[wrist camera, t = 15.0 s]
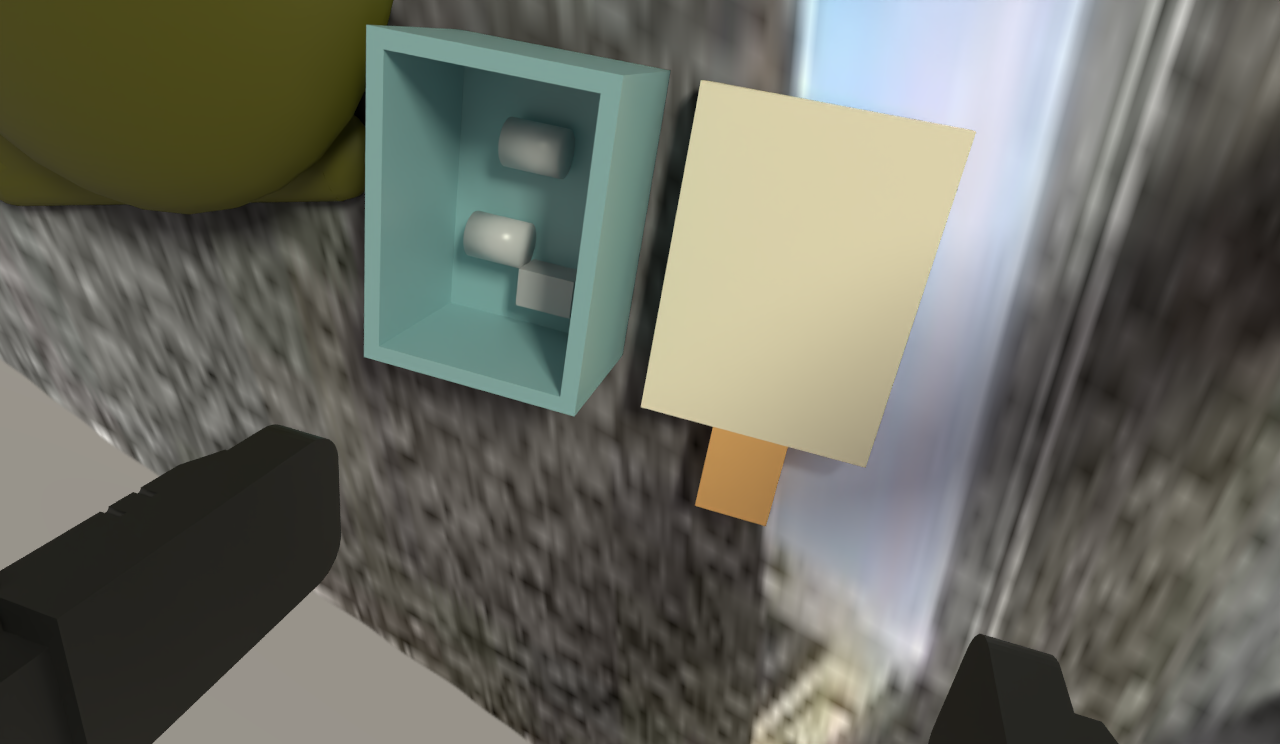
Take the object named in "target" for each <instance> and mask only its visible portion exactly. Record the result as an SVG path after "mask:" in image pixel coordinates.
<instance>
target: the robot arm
mask: <svg viewBox="0 0 1280 744" xmlns="http://www.w3.org/2000/svg"><path fill="white" fill-rule="evenodd" d="M340 540H341V523H340V494H339V465H338V452H337V449H336V447H335V445H334V443H333V442H332V441H330V440H329V439H326V438H322V437H319V436H316V435H312V434H309V433H305V432H302V431H299V430H295V429H292V428H288V427H285V426H282V425H270V426H267V427H265V428H263V429H262V430H260V431H258V432H257V433H255V434H253V435H252V436H250V437H249V438H247V439H245V440H244V441H242V442H240V443H239V444H237V445H236V446H234V447H232V448H231V449H229V450H223V451H220V452H217V453H214V454H211V455H208V456H205V457H202V458H199V459H196V460H193V461H190V462H186V463H183V464H180V465H178V466H176V467H175V468H173V469H171V470H170V471H168V472H166V473H165V474H163V475H161V476H160V477H158V478H156V479H155V480H153V481H152V482H149V483H148V484H146V485H144V486H143V487H141V490H140V492H139V493H138V494H137V493H134V492H133V493H131V494H129V495H128V496H126V497H124V498H122V499H121V500H119V501H117V502H116V503H114V504H112V505H111V506H109V509H108V511H107V512H106V513H103V512H99V513H97V514H95V515H94V516H92V517H90V518H89V519H87V520H85V521H84V522H82V523H80V524H79V525H77V526H75V527H74V528H72V529H70V530H68V531H67V532H65V533H64V534H62V535H60V536H58V537H57V538H55V539H53V540H52V541H50V542H48V543H46V544H45V545H43V546H41V547H40V548H38V549H36V550H35V551H33V552H31V553H30V554H28V555H26V556H25V557H23V558H21V559H19V560H18V561H16V562H14V563H13V564H11V565H9V566H8V567H6V568H4V569H3V570H1V571H0V744H152V743H153V742H154V741H155V740H156V739H157V738H158V737H160V736H161V735H162V734H163V733H164V732H165V731H166V730H167V729H168V728H169V727H170V726H171V725H172V724H173V723H174V722H175V721H176V720H177V719H178V718H179V717H180V716H181V715H183V714H184V713H185V712H186V711H187V710H188V709H189V708H190V707H191V706H192V705H193V704H194V703H195V702H196V701H197V700H198V699H199V698H200V697H201V696H202V695H203V694H205V693H206V692H207V691H208V690H209V689H210V688H211V687H212V686H213V685H214V684H215V683H216V682H217V681H218V680H219V679H220V678H221V677H222V676H223V675H224V674H225V673H227V672H228V670H230V669H231V668H232V667H233V666H234V665H235V664H236V663H237V662H238V661H239V660H240V659H241V658H242V657H243V656H244V655H245V654H246V653H247V652H248V651H249V650H251V649H252V648H253V647H254V646H255V645H256V644H257V643H258V642H259V641H260V640H261V639H262V638H263V637H264V636H265V635H266V634H267V633H268V632H269V631H270V630H271V629H272V628H274V626H276V625H277V624H278V623H279V622H280V621H281V620H282V619H283V618H284V617H285V616H286V615H287V614H288V613H289V612H290V611H291V610H292V609H294V608H295V607H296V606H297V605H298V604H299V603H300V602H301V601H302V600H303V599H304V598H305V597H306V596H307V595H308V594H309V593H310V592H311V591H312V590H313V589H314V588H316V587H317V586H318V585H319V584H320V583H321V581H322V580H323V579H324V578H325V576H326V575H327V574H328V572H329V571H330V569H331V567H332V565H333V563H334V561H335V559H336V556H337V553H338V550H339V546H340ZM928 744H1118V743H1117V741H1116V740H1115V739H1114V737H1113V736H1112V735H1111V733H1110V732H1109V731H1108V729H1107V728H1106V727H1105V725H1104V724H1103V723H1102V722H1101V721H1097V720H1094V719H1091V718H1088V717H1084V716H1081V715H1078V714H1075V713H1074V711H1073V707H1072V704H1071V701H1070V697H1069V694H1068V691H1067V687H1066V684H1065V681H1064V677H1063V674H1062V671H1061V668H1060V665H1059V663H1058V661H1057V659H1056V658H1055V657H1054V656H1053V655H1050V654H1047V653H1044V652H1040V651H1037V650H1034V649H1030V648H1027V647H1023V646H1020V645H1017V644H1013V643H1010V642H1006V641H1003V640H1000V639H996V638H993V637H990V636H986V635H983V634H978V635H977V636H975V637H974V638H973V640H972V641H971V643H970V645H969V647H968V649H967V651H966V653H965V656H964V658H963V660H962V663H961V665H960V667H959V670H958V672H957V674H956V676H955V679H954V681H953V683H952V686H951V688H950V690H949V693H948V695H947V697H946V699H945V702H944V704H943V706H942V709H941V711H940V713H939V716H938V718H937V720H936V723H935V725H934V727H933V730H932V732H931V736H930V739H929V743H928Z"/></svg>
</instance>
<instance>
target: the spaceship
mask: <svg viewBox="0 0 1280 744" xmlns="http://www.w3.org/2000/svg"><path fill="white" fill-rule="evenodd" d="M392 3H393V0H0V200H2V201H3V202H5V203H8V204H12V205H16V206H58V205H123V204H128V205H131V206H134V207H137V208H140V209H144V210H153V211H162V212H172V213H181V214H195V213H203V212H210V211H217V210H225V209H232V208H236V207H240V206H243V205H245V204H248V203H254V202H320V201H344V200H346V199H350V198H354V197H358V196H360V195H361V194H363V193H364V192H365V144H366V127H365V126H364V125H363V123H362V122H361V121H360V120H359V118H358V117H356V116H355V115H354V112H355V110H356V108H357V106H358V104H359V102H360V100H361V97H362V95H363V93H364V91H365V89H366V25H383V26H387V23H388V19H389V15H390V11H391V7H392Z"/></svg>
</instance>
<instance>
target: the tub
mask: <svg viewBox="0 0 1280 744" xmlns="http://www.w3.org/2000/svg"><path fill="white" fill-rule="evenodd" d="M669 77H670V70H665V69H660V68H655V67H650V66H645V65H639V64H634V63H629V62H624V61H619V60H614V59H609V58H603V57H598V56H593V55H588V54H583V53H578V52H573V51H567V50H562V49H557V48H552V47H547V46H542V45H537V44H531V43H526V42H521V41H516V40H511V39H506V38H501V37H495V36H490V35H485V34H480V33H475V32H470V31H465V30H459V29H440V28H421V27H402V26H383V25H366V144H365V284H364V357H366V358H369V359H373V360H376V361H380V362H384V363H387V364H391V365H394V366H398V367H401V368H405V369H408V370H412V371H415V372H419V373H422V374H426V375H430V376H433V377H437V378H440V379H444V380H447V381H451V382H454V383H458V384H461V385H465V386H469V387H472V388H476V389H479V390H483V391H486V392H490V393H493V394H497V395H500V396H504V397H507V398H511V399H515V400H518V401H522V402H525V403H529V404H532V405H536V406H539V407H543V408H546V409H550V410H553V411H557V412H561V413H564V414H568V415H571V416H575V415H576V414H577V412H578V411H579V410H580V408H581V407H582V406H583V405H584V403H585V402H586V401H587V400H588V398H589V397H590V396H591V395H592V393H593V392H594V391H595V389H596V388H597V387H598V386H599V384H600V383H601V382H602V381H603V379H604V378H605V377H606V375H607V374H608V373H609V372H610V370H611V369H612V368H613V367H614V365H615V364H616V363H617V361H618V360H619V359H620V358H621V356H622V355H623V350H624V344H625V338H626V332H627V326H628V320H629V314H630V308H631V302H632V296H633V291H634V285H635V279H636V273H637V267H638V261H639V255H640V249H641V243H642V237H643V231H644V225H645V219H646V214H647V208H648V202H649V196H650V190H651V184H652V178H653V172H654V166H655V160H656V154H657V148H658V142H659V136H660V131H661V125H662V119H663V113H664V107H665V101H666V95H667V89H668V83H669Z"/></svg>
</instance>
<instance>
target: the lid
mask: <svg viewBox="0 0 1280 744" xmlns="http://www.w3.org/2000/svg"><path fill="white" fill-rule="evenodd" d="M975 134H976V132H975V131H973V130H969V129H964V128H958V127H953V126H948V125H942V124H937V123H932V122H926V121H921V120H916V119H910V118H905V117H900V116H894V115H889V114H883V113H878V112H873V111H867V110H862V109H857V108H851V107H846V106H841V105H835V104H830V103H825V102H819V101H814V100H809V99H803V98H798V97H793V96H787V95H782V94H776V93H771V92H766V91H760V90H755V89H750V88H744V87H739V86H734V85H728V84H723V83H718V82H712V81H707V80H701V83H700V88H699V94H698V99H697V105H696V110H695V116H694V121H693V126H692V132H691V137H690V143H689V148H688V154H687V159H686V164H685V170H684V175H683V181H682V186H681V192H680V197H679V202H678V208H677V213H676V219H675V224H674V229H673V235H672V240H671V246H670V251H669V257H668V262H667V267H666V273H665V278H664V284H663V289H662V295H661V300H660V305H659V311H658V316H657V322H656V327H655V333H654V338H653V343H652V349H651V354H650V360H649V365H648V370H647V376H646V381H645V387H644V392H643V398H642V403H641V407H642V408H646V409H649V410H653V411H657V412H660V413H664V414H668V415H672V416H675V417H679V418H683V419H686V420H690V421H694V422H698V423H701V424H705V425H709V426H712V427H713V429H712V433H711V438H710V442H709V446H708V451H707V455H706V459H705V464H704V468H703V472H702V477H701V481H700V486H699V490H698V494H697V499H696V503H695V506H698V507H701V508H704V509H708V510H711V511H715V512H718V513H722V514H725V515H729V516H732V517H736V518H739V519H742V520H746V521H749V522H753V523H756V524H760V525H763V526H766V524H767V520H768V517H769V513H770V509H771V506H772V502H773V499H774V495H775V491H776V488H777V484H778V481H779V477H780V473H781V470H782V466H783V463H784V459H785V455H786V452H787V448H788V447H790V448H794V449H798V450H802V451H805V452H809V453H813V454H816V455H820V456H824V457H828V458H831V459H835V460H839V461H842V462H846V463H850V464H854V465H857V466H861V467H865V468H866V465H867V462H868V459H869V456H870V453H871V450H872V446H873V443H874V440H875V437H876V434H877V431H878V428H879V425H880V422H881V419H882V416H883V413H884V410H885V407H886V404H887V401H888V398H889V395H890V392H891V389H892V386H893V383H894V380H895V377H896V374H897V371H898V367H899V364H900V361H901V358H902V355H903V352H904V349H905V346H906V343H907V340H908V337H909V334H910V331H911V328H912V325H913V322H914V319H915V316H916V313H917V310H918V307H919V304H920V301H921V298H922V295H923V292H924V288H925V285H926V282H927V279H928V276H929V273H930V270H931V267H932V264H933V261H934V258H935V255H936V252H937V249H938V246H939V243H940V240H941V237H942V234H943V231H944V228H945V225H946V222H947V219H948V216H949V213H950V209H951V206H952V203H953V200H954V197H955V194H956V191H957V188H958V185H959V182H960V179H961V176H962V173H963V170H964V167H965V164H966V161H967V158H968V155H969V152H970V149H971V146H972V143H973V140H974V137H975Z"/></svg>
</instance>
